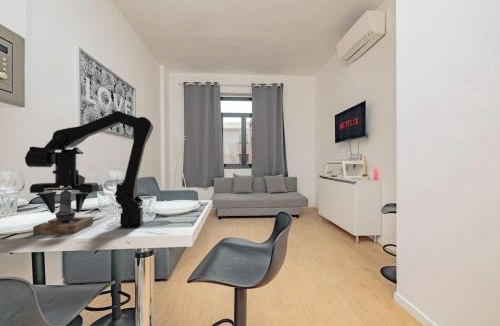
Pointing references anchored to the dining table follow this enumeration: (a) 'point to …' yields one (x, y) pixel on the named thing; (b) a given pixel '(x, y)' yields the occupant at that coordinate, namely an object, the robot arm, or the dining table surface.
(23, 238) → the dining table surface
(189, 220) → the dining table surface
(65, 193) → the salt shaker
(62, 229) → the wooden tray
